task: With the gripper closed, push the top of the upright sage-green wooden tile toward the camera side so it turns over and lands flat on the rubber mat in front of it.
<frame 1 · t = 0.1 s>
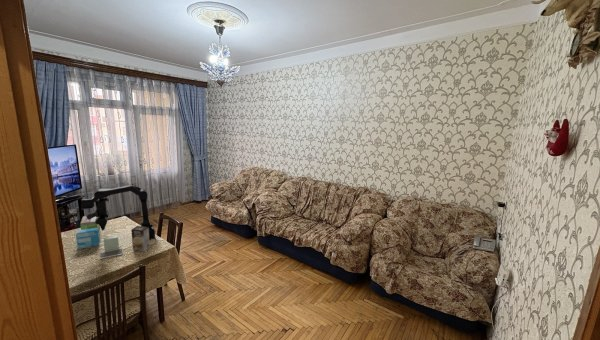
hand: (103, 227, 179), 14 cm above the table, fingers open, 9 cm apart
tile: (112, 249, 179), on the table
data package: (89, 245, 181), on the table
coffee box: (141, 248, 182), on the table
mat: (111, 253, 173), on the table
tea box: (91, 236, 194), on the table
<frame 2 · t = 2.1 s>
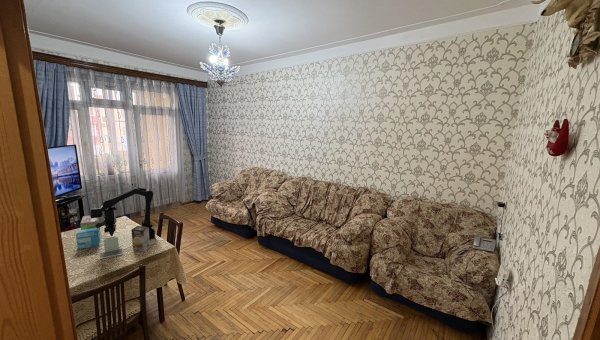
hand: (111, 236, 183), 7 cm above the table, fingers closed
nothing on the table moved.
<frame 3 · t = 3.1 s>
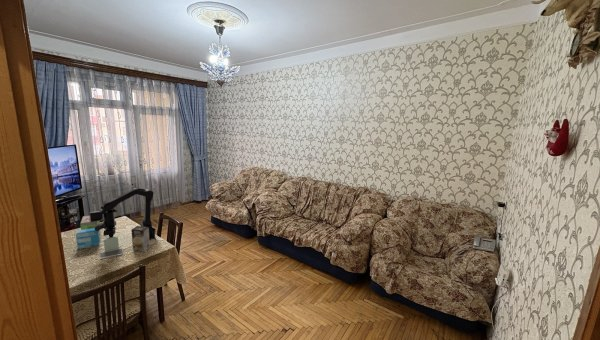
hand: (111, 239, 179), 7 cm above the table, fingers closed
nothing on the table moved.
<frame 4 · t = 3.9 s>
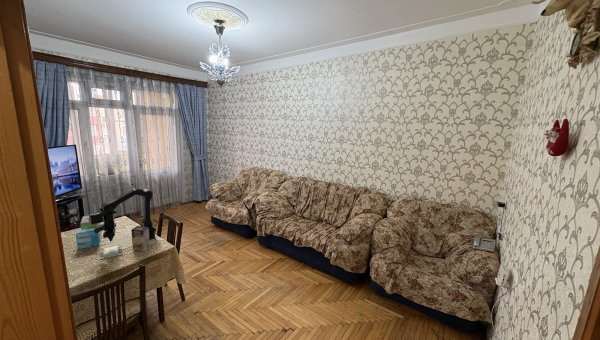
hand: (111, 241, 176), 7 cm above the table, fingers closed
tile: (111, 248, 178), point 2 cm above the table, tilted 91°, touching mat
everything else where it was.
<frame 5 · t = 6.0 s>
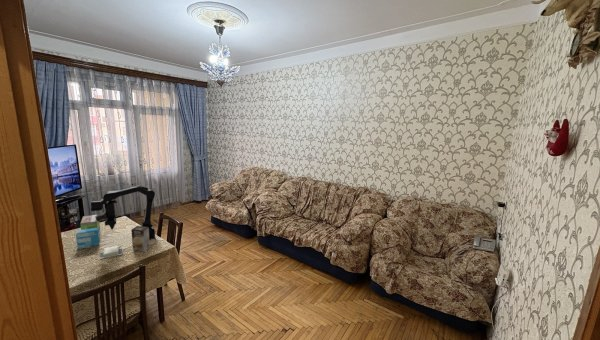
hand: (112, 229, 182), 12 cm above the table, fingers closed
nothing on the table moved.
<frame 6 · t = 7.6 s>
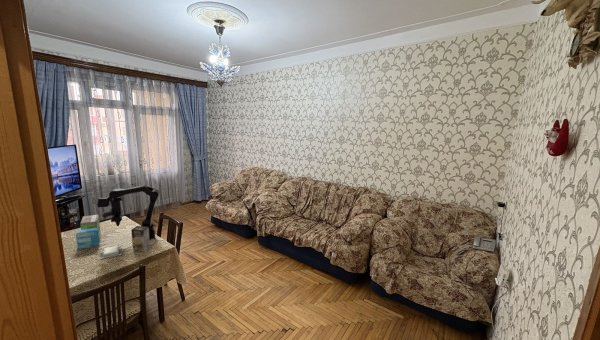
hand: (117, 226, 187), 13 cm above the table, fingers closed
nothing on the table moved.
at the end: tile tilted 91°; tile inside the target area (6.2 cm from its centre), point 1.5 cm above the table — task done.
